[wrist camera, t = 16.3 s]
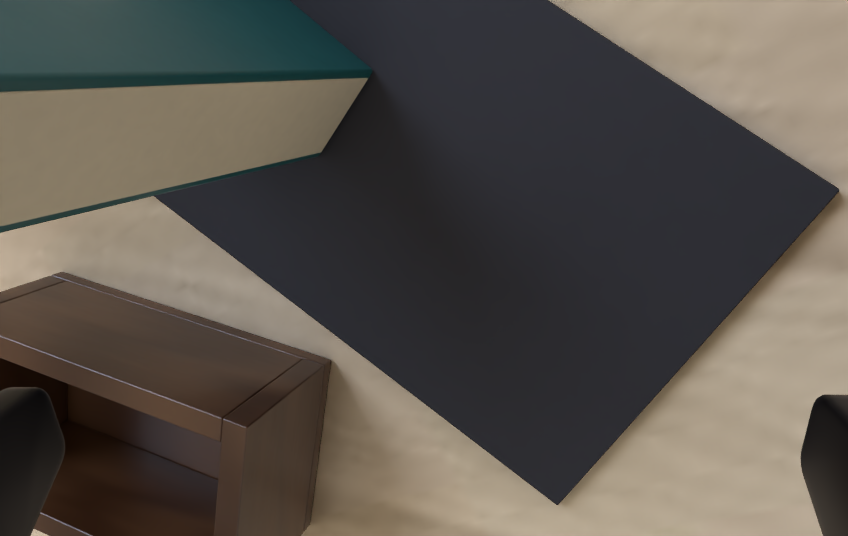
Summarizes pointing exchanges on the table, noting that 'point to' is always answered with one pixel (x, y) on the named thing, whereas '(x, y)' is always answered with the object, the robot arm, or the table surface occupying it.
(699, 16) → the table surface
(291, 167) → the felt pad
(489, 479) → the table surface
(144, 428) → the wooden box
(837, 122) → the table surface
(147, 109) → the book
